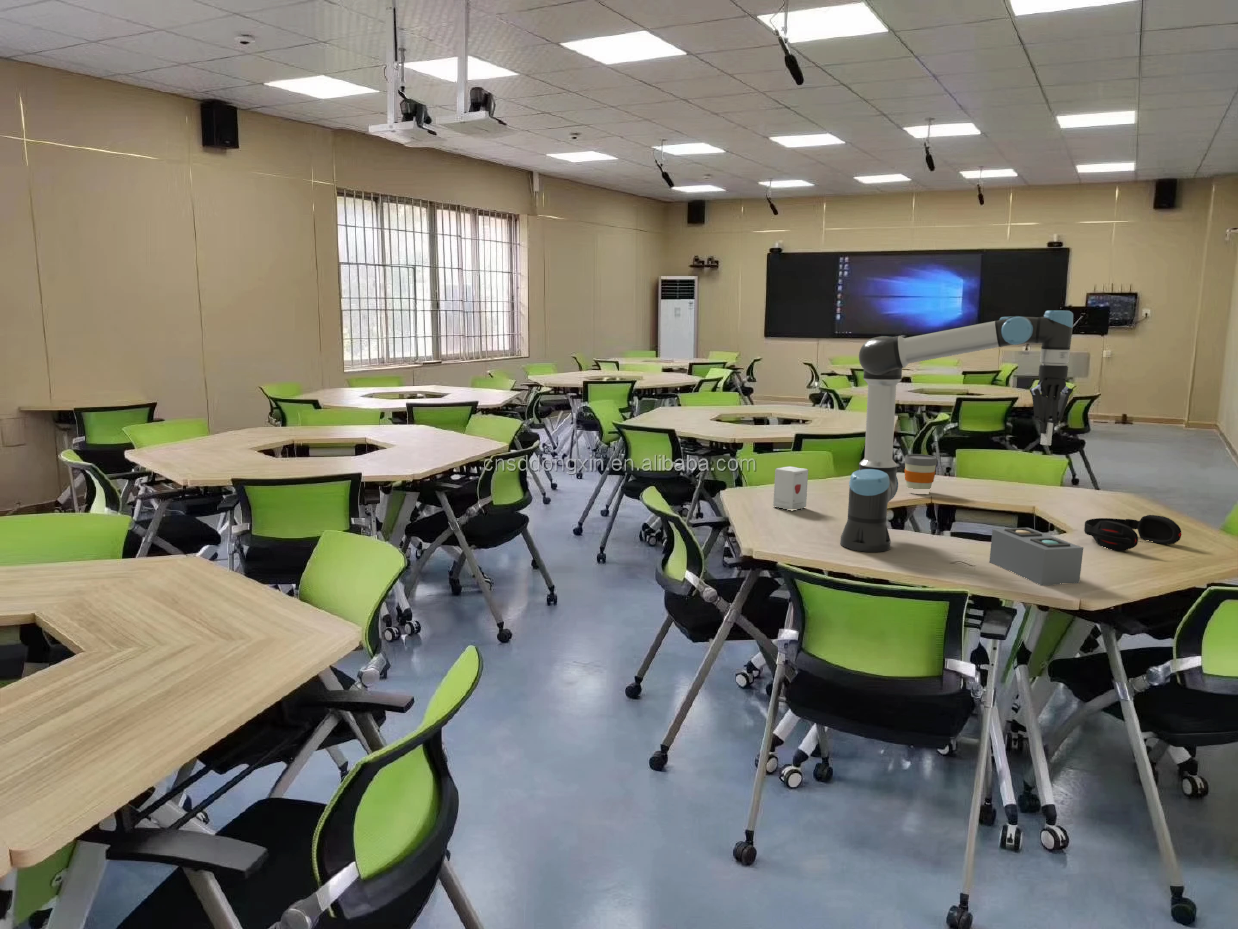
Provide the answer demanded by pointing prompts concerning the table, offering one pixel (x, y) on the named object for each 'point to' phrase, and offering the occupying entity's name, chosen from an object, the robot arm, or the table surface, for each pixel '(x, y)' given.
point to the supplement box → (790, 487)
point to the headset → (1132, 531)
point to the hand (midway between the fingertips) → (1045, 444)
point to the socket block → (1036, 556)
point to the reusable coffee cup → (919, 470)
